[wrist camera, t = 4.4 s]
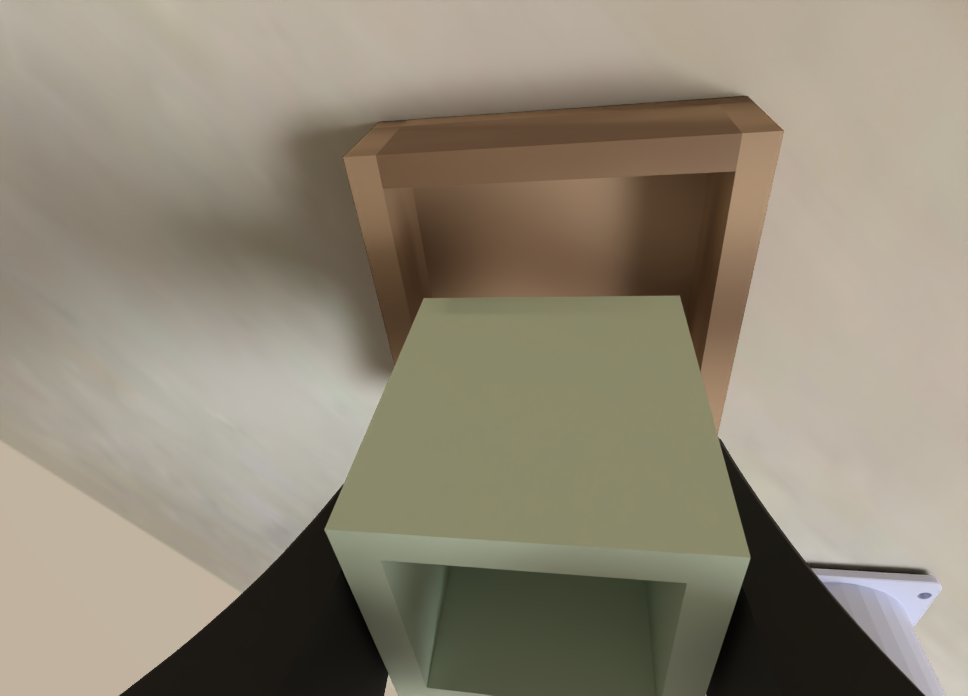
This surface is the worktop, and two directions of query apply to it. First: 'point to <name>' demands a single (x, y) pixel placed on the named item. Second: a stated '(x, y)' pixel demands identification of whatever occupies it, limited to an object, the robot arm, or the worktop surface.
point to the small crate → (543, 504)
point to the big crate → (573, 211)
